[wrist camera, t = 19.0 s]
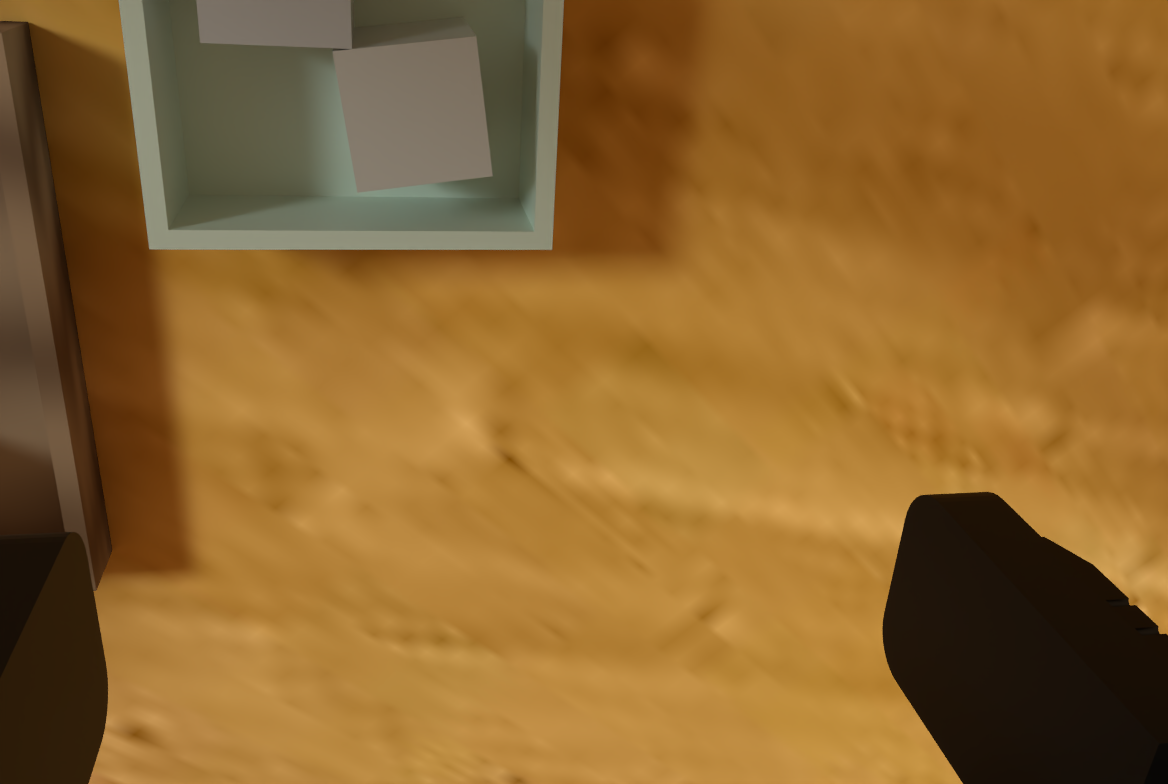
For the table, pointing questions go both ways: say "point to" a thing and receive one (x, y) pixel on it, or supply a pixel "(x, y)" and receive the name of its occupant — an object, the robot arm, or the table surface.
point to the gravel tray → (40, 334)
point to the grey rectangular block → (413, 104)
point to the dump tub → (332, 137)
